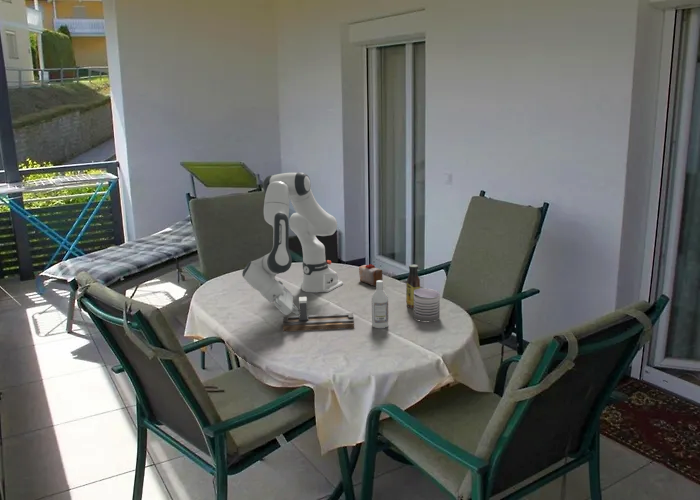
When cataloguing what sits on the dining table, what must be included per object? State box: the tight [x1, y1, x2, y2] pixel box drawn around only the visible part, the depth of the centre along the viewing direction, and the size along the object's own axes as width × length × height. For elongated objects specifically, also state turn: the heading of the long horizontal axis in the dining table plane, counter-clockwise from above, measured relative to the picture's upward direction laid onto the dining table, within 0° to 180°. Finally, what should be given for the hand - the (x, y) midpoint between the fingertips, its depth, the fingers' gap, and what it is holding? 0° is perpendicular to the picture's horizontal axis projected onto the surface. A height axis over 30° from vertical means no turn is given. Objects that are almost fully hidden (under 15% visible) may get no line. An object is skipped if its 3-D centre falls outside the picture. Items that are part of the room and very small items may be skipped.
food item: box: [358, 263, 384, 287], centre depth 330 cm, size 14×8×10 cm, turn 36°
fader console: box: [282, 312, 355, 332], centre depth 275 cm, size 30×12×4 cm, turn 94°
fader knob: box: [298, 296, 308, 321], centre depth 273 cm, size 4×5×10 cm
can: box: [413, 287, 441, 322], centre depth 279 cm, size 11×11×12 cm
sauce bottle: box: [405, 264, 421, 309], centre depth 292 cm, size 7×6×20 cm
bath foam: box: [371, 280, 389, 329], centre depth 270 cm, size 7×7×20 cm
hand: (298, 312), depth 274 cm, fingers closed, pressing on fader knob
